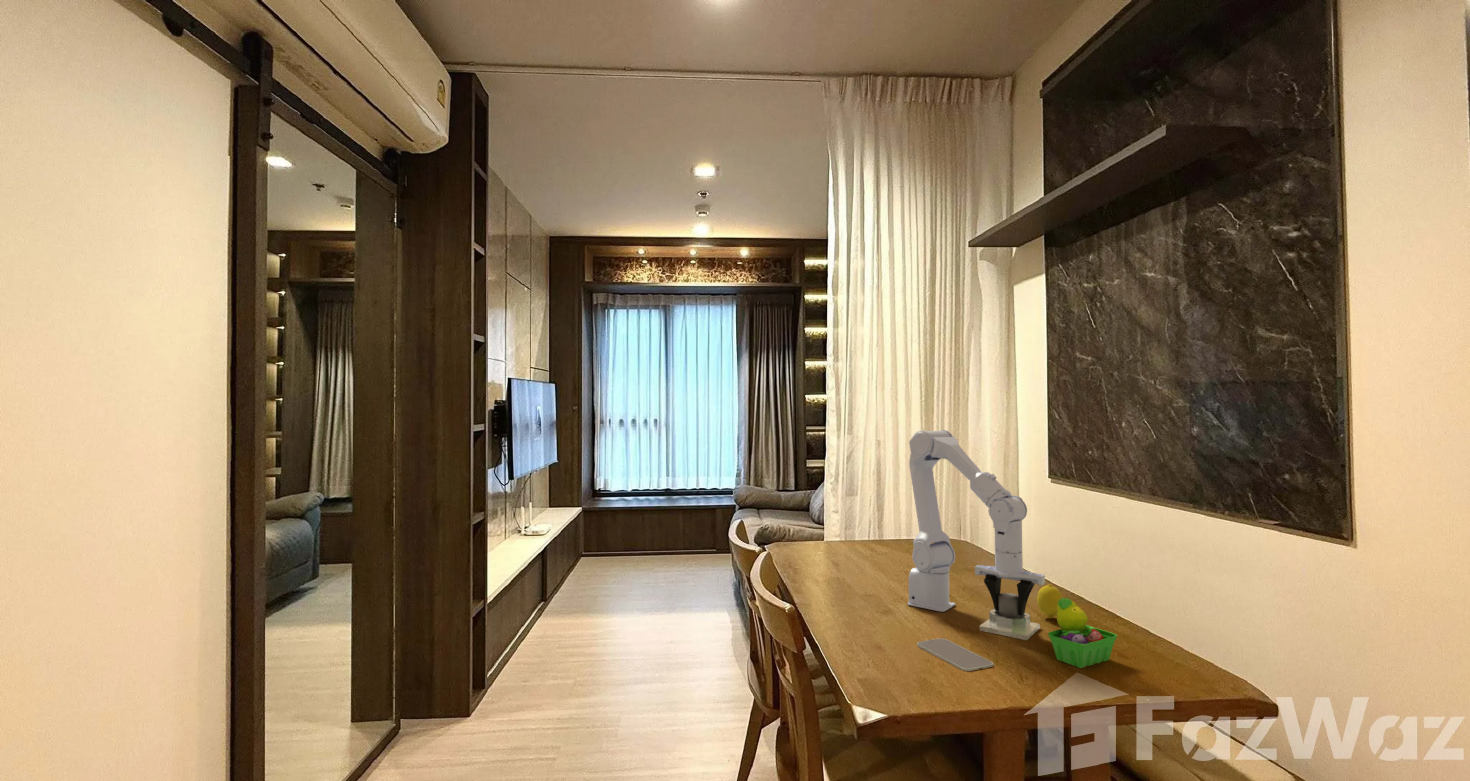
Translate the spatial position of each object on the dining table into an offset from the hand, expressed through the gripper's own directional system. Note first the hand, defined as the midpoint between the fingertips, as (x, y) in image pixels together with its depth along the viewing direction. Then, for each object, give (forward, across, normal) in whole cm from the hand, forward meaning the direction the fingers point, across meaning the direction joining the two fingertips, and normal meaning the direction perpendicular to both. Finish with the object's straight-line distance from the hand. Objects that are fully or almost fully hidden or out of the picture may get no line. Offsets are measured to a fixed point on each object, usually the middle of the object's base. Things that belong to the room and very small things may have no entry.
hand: (1009, 611), depth 144 cm
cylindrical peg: (+1, 0, 0) cm, 1 cm away
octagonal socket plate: (+4, 0, 0) cm, 4 cm away
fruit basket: (+4, +16, -9) cm, 19 cm away
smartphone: (+4, -4, -23) cm, 24 cm away
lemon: (+4, +5, +14) cm, 15 cm away
